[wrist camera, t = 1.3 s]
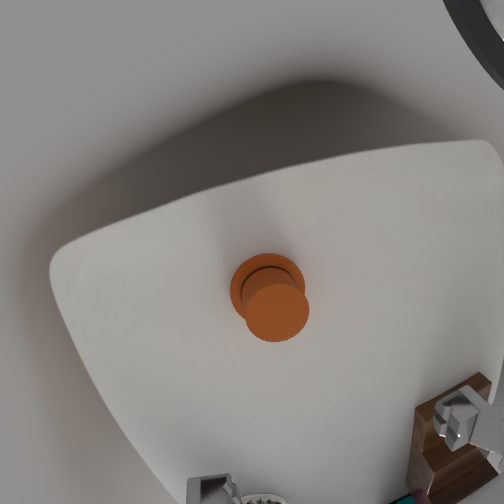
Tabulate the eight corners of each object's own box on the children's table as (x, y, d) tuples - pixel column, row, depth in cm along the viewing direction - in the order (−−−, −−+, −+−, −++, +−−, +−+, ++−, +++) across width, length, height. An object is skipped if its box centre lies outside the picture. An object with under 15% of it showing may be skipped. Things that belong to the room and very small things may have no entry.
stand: (415, 407, 32) (459, 465, 21) (479, 371, 32) (528, 414, 22) (405, 484, 37) (430, 529, 27) (458, 455, 38) (487, 494, 27)
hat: (245, 243, 25) (251, 259, 20) (314, 266, 26) (333, 286, 21) (220, 311, 26) (221, 339, 21) (287, 330, 27) (300, 359, 22)
